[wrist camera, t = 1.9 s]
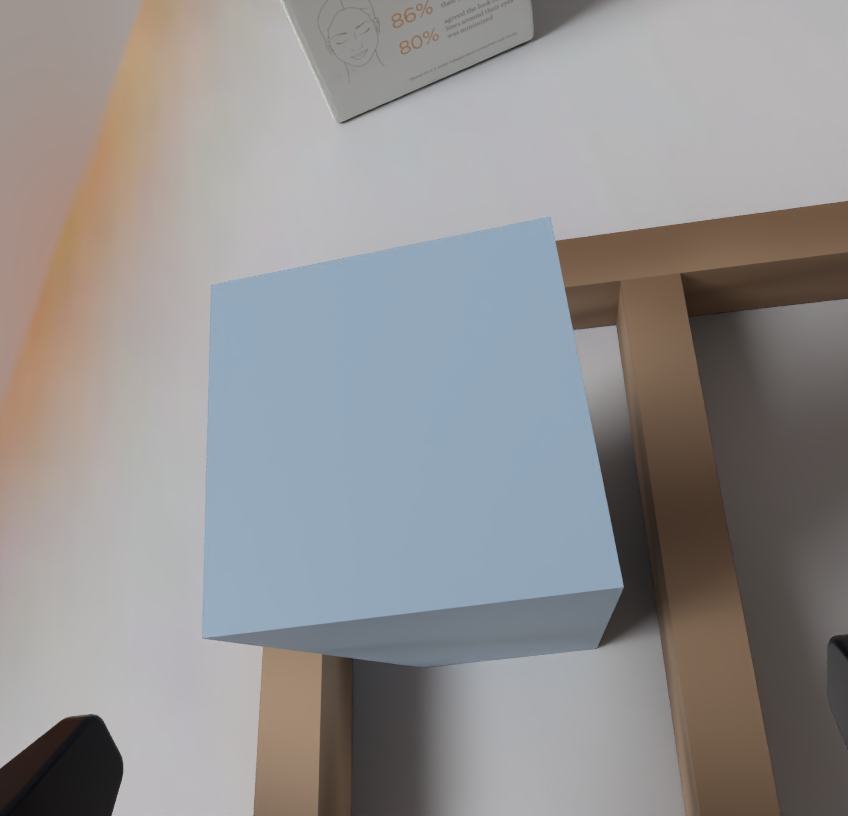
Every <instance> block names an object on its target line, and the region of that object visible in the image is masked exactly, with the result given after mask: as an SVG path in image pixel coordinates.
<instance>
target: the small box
mask: <svg viewBox="0 0 848 816" xmlns="http://www.w3.org/2000/svg"><path fill="white" fill-rule="evenodd" d="M280 1H281V3H282V5H283V7H284V10H285V12H286V14H287V17H288V19H289V21H290V23H291V25H292V28H293V30H294V32H295V34H296V36H297V39H298V41H299V43H300V45H301V48H302V50H303V52H304V54H305V56H306V59H307V61H308V63H309V65H310V68H311V70H312V72H313V74H314V77H315V79H316V81H317V83H318V86H319V88H320V90H321V92H322V94H323V97H324V99H325V101H326V104H327V106H328V108H329V110H330V112H331V115H332V117H333V119H334V120H335V122H337V123H341V122H343V121H346V120H348V119H350V118H352V117H354V116H357V115H359V114H361V113H363V112H366V111H368V110H371V109H373V108H375V107H378V106H380V105H382V104H384V103H387V102H389V101H391V100H394V99H396V98H398V97H401V96H403V95H405V94H407V93H410V92H412V91H414V90H417V89H419V88H421V87H423V86H426V85H428V84H430V83H433V82H435V81H437V80H440V79H442V78H444V77H447V76H449V75H451V74H453V73H456V72H458V71H460V70H463V69H465V68H467V67H470V66H472V65H474V64H476V63H479V62H481V61H483V60H485V59H487V58H490V57H492V56H494V55H497V54H499V53H501V52H503V51H506V50H508V49H510V48H513V47H515V46H517V45H519V44H522V43H524V42H526V41H529V40H531V39H532V38H533V35H534V24H533V11H532V0H280Z"/></svg>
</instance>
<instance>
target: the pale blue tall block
mask: <svg viewBox="0 0 848 816" xmlns="http://www.w3.org/2000/svg"><path fill="white" fill-rule="evenodd" d="M623 588H624V585H623V580H622V575H621V570H620V565H619V560H618V555H617V550H616V545H615V540H614V535H613V530H612V525H611V520H610V515H609V510H608V505H607V500H606V495H605V489H604V484H603V479H602V474H601V469H600V464H599V459H598V454H597V449H596V444H595V439H594V434H593V429H592V424H591V419H590V414H589V409H588V404H587V399H586V394H585V388H584V383H583V378H582V373H581V368H580V363H579V358H578V353H577V348H576V343H575V338H574V333H573V328H572V323H571V318H570V313H569V308H568V303H567V298H566V292H565V287H564V282H563V277H562V272H561V267H560V262H559V257H558V252H557V247H556V242H555V237H554V232H553V227H552V222H551V217H547V218H542V219H537V220H532V221H527V222H522V223H517V224H512V225H507V226H502V227H497V228H492V229H487V230H482V231H477V232H472V233H467V234H462V235H457V236H452V237H447V238H442V239H437V240H432V241H428V242H423V243H418V244H413V245H408V246H403V247H398V248H393V249H388V250H383V251H378V252H373V253H368V254H363V255H358V256H353V257H348V258H343V259H338V260H333V261H328V262H323V263H318V264H313V265H308V266H303V267H298V268H293V269H288V270H283V271H278V272H273V273H268V274H264V275H259V276H254V277H249V278H244V279H239V280H234V281H229V282H224V283H219V284H214V285H211V310H210V349H209V388H208V427H207V466H206V505H205V544H204V583H203V622H202V638H203V639H211V640H218V641H226V642H233V643H241V644H248V645H256V646H264V647H271V648H279V649H286V650H294V651H301V652H309V653H317V654H324V655H332V656H339V657H347V658H354V659H362V660H370V661H377V662H385V663H392V664H400V665H407V666H415V667H422V668H424V667H434V666H443V665H452V664H461V663H470V662H479V661H488V660H498V659H507V658H516V657H525V656H534V655H543V654H553V653H562V652H571V651H580V650H589V649H597V647H598V645H599V642H600V640H601V638H602V636H603V633H604V631H605V629H606V626H607V624H608V622H609V620H610V617H611V615H612V613H613V611H614V608H615V606H616V604H617V602H618V599H619V597H620V595H621V592H622V590H623Z"/></svg>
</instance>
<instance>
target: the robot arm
mask: <svg viewBox="0 0 848 816" xmlns="http://www.w3.org/2000/svg"><path fill="white" fill-rule="evenodd" d="M827 694H828V700H829V704H830V707H831V710H832V713H833V716H834V718H835V720H836V723H837V725H838V728H839V730H840V732H841V735H842V737H843V739H844V742H845V744H846V746H847V749H848V634H846V635H836V636H834V637H832V638H831V639H830V640H829V643H828V661H827ZM122 776H123V760H122V757H121V754H120V752H119V750H118V748H117V746H116V744H115V743H114V741H113V739H112V737H111V735H110V733H109V731H108V729H107V727H106V725H105V723H104V721H103V720H102V719H101V718H100V717H99V716H97V715H94V714H89V715H80V716H71V717H67V718H65V719H63V720H61V721H60V722H59V723H57V724H56V725H55V726H54V727H52V728H51V729H50V730H49V731H47V732H46V733H45V734H44V735H42V736H41V737H40V738H38V739H37V740H36V741H35V742H33V743H32V744H31V745H30V746H28V747H27V748H26V749H25V750H23V751H22V752H21V753H19V754H18V755H17V756H16V757H14V758H13V759H12V760H11V761H9V762H8V763H7V764H6V765H4V766H3V767H2V768H1V769H0V816H111V815H112V812H113V808H114V805H115V802H116V798H117V795H118V791H119V788H120V784H121V781H122Z"/></svg>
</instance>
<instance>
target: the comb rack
mask: <svg viewBox="0 0 848 816" xmlns="http://www.w3.org/2000/svg"><path fill="white" fill-rule="evenodd" d="M555 242H556V247H557V252H558V257H559V262H560V267H561V272H562V277H563V282H564V287H565V292H566V298H567V303H568V308H569V313H570V318H571V323H572V328H573V330H574V329H583V328H592V327H600V326H609V325H616V326H617V333H618V340H619V347H620V354H621V361H622V368H623V375H624V382H625V389H626V396H627V403H628V410H629V417H630V424H631V431H632V438H633V445H634V452H635V459H636V466H637V473H638V481H639V488H640V495H641V502H642V509H643V516H644V523H645V530H646V537H647V544H648V551H649V558H650V565H651V572H652V579H653V586H654V593H655V600H656V607H657V614H658V621H659V628H660V635H661V642H662V649H663V656H664V663H665V670H666V677H667V684H668V691H669V698H670V706H671V713H672V720H673V727H674V734H675V741H676V748H677V755H678V762H679V769H680V776H681V783H682V790H683V797H684V804H685V811H686V816H781V814H780V809H779V803H778V798H777V793H776V787H775V782H774V776H773V771H772V766H771V760H770V755H769V749H768V744H767V739H766V733H765V728H764V723H763V717H762V712H761V706H760V701H759V696H758V690H757V685H756V679H755V674H754V669H753V663H752V658H751V653H750V647H749V642H748V636H747V631H746V626H745V620H744V615H743V609H742V604H741V599H740V593H739V588H738V583H737V577H736V572H735V566H734V561H733V556H732V550H731V545H730V539H729V534H728V529H727V523H726V518H725V513H724V507H723V502H722V496H721V491H720V486H719V480H718V475H717V469H716V464H715V459H714V453H713V448H712V442H711V437H710V432H709V426H708V421H707V416H706V410H705V405H704V399H703V394H702V389H701V383H700V378H699V372H698V367H697V362H696V356H695V351H694V346H693V340H692V335H691V329H690V324H689V319H688V316H696V315H705V314H714V313H723V312H731V311H740V310H749V309H758V308H766V307H775V306H784V305H792V304H801V303H810V302H819V301H827V300H836V299H845V298H848V201H844V202H837V203H830V204H822V205H815V206H808V207H800V208H793V209H786V210H778V211H771V212H764V213H756V214H749V215H742V216H734V217H727V218H720V219H713V220H705V221H698V222H691V223H683V224H676V225H669V226H661V227H654V228H647V229H639V230H632V231H625V232H618V233H610V234H603V235H596V236H588V237H581V238H574V239H566V240H559V241H555ZM352 690H353V658H347V657H339V656H332V655H324V654H317V653H309V652H301V651H294V650H286V649H279V648H271V647H264V646H263V657H262V675H261V693H260V710H259V728H258V746H257V763H256V781H255V799H254V816H351V775H352Z"/></svg>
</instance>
